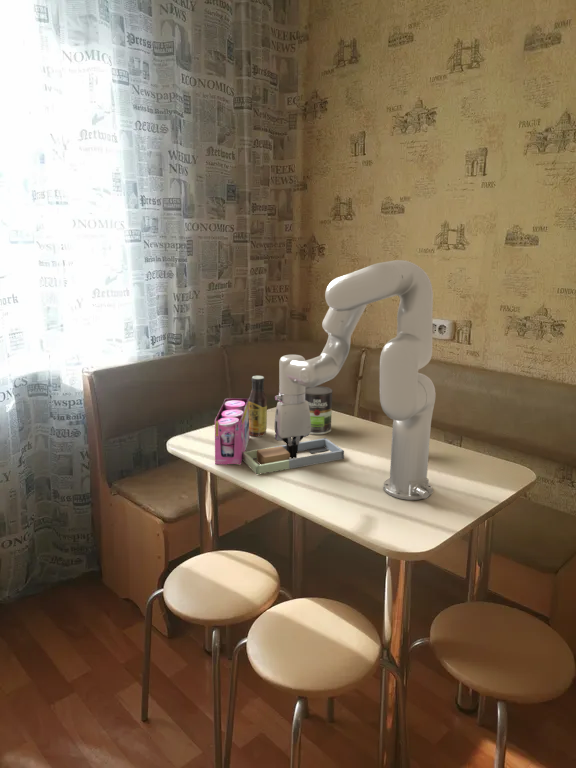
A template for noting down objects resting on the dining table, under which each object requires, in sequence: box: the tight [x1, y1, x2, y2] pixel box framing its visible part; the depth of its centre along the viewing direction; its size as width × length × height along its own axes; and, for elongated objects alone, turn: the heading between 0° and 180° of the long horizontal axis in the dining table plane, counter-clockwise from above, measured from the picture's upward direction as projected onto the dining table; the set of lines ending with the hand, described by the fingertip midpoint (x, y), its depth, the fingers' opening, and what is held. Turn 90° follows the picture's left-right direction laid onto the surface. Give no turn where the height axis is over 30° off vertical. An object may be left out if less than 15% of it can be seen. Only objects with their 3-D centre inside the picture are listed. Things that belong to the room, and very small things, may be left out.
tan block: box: [256, 445, 291, 465], centre depth 171 cm, size 6×8×4 cm
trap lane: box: [242, 437, 345, 475], centre depth 173 cm, size 12×28×2 cm, turn 114°
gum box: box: [214, 397, 250, 465], centre depth 178 cm, size 24×8×14 cm, turn 177°
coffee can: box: [305, 385, 333, 435], centre depth 197 cm, size 10×10×14 cm
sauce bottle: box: [248, 375, 268, 438], centre depth 191 cm, size 7×6×20 cm
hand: (292, 456), depth 173 cm, fingers closed
